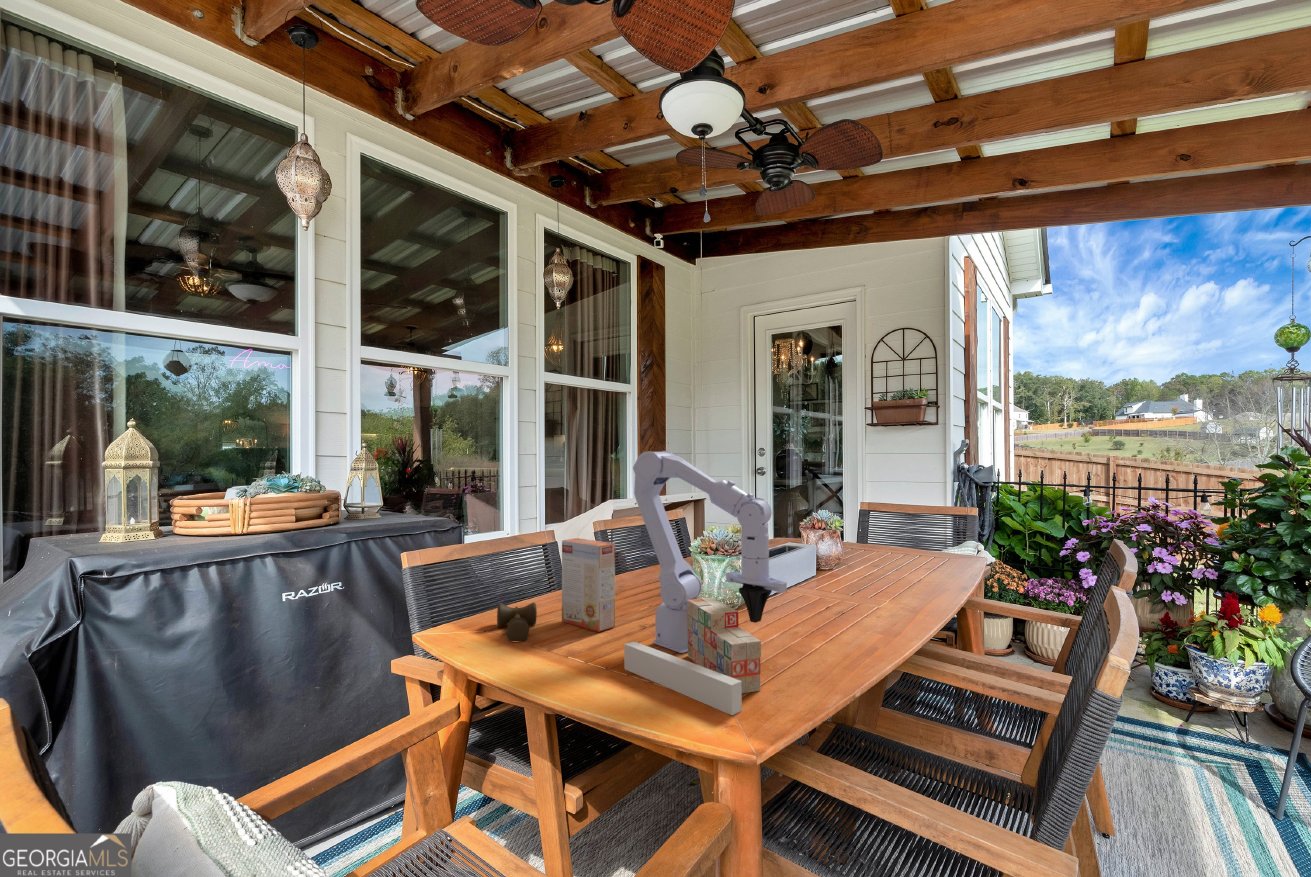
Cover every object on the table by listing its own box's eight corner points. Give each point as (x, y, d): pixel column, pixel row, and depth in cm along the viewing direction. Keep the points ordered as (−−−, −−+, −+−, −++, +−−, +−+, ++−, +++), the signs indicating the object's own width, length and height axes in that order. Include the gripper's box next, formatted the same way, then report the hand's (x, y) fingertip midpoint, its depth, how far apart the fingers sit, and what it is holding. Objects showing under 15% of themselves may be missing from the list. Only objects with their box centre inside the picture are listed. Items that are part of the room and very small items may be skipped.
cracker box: (616, 627, 147) (616, 542, 147) (598, 633, 142) (598, 545, 142) (578, 616, 156) (578, 536, 156) (560, 621, 151) (560, 539, 152)
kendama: (495, 647, 134) (496, 619, 154) (539, 644, 137) (534, 617, 156) (496, 620, 134) (497, 596, 154) (540, 618, 137) (535, 595, 156)
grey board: (624, 668, 119) (624, 643, 119) (633, 665, 121) (633, 641, 121) (732, 715, 99) (731, 685, 99) (741, 710, 100) (741, 681, 100)
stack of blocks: (761, 691, 109) (761, 624, 109) (730, 696, 107) (730, 627, 107) (713, 653, 129) (713, 596, 129) (686, 656, 127) (686, 598, 127)
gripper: (795, 558, 123) (795, 624, 123) (740, 549, 134) (740, 610, 134) (774, 563, 118) (775, 632, 118) (719, 554, 129) (720, 616, 129)
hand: (755, 621), depth 126 cm, fingers closed
